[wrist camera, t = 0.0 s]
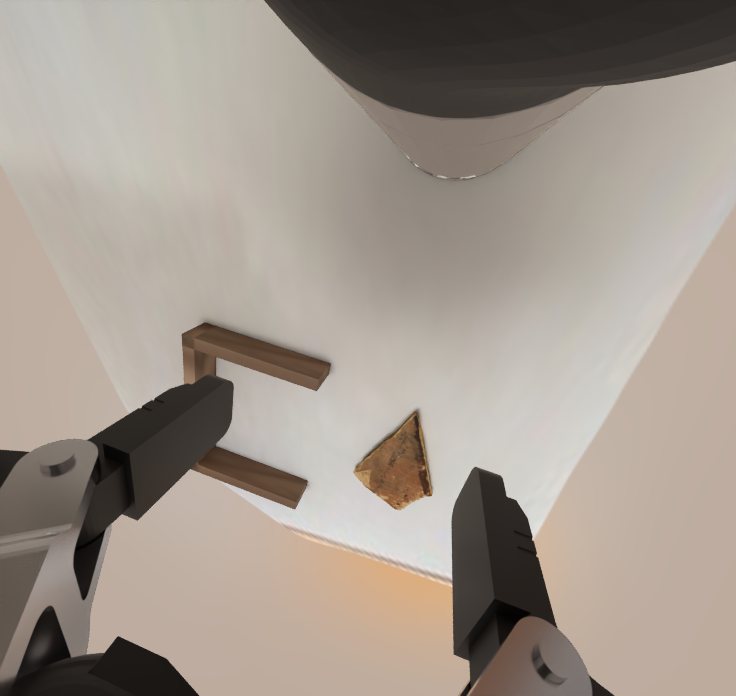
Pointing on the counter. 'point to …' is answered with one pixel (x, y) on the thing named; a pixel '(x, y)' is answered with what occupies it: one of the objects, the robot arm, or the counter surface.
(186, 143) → the counter surface
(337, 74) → the robot arm
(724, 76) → the counter surface
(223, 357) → the wooden c-shaped bracket
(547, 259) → the counter surface
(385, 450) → the shard
